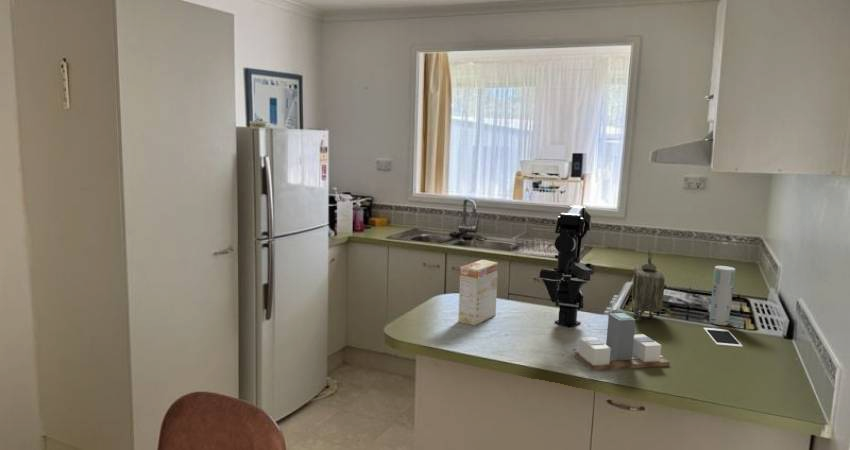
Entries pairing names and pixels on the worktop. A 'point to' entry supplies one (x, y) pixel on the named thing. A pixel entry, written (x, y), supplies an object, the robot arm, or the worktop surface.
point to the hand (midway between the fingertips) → (562, 302)
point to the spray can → (722, 295)
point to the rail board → (623, 363)
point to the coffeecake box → (478, 292)
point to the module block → (620, 336)
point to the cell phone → (722, 337)
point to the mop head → (647, 288)
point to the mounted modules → (601, 352)
